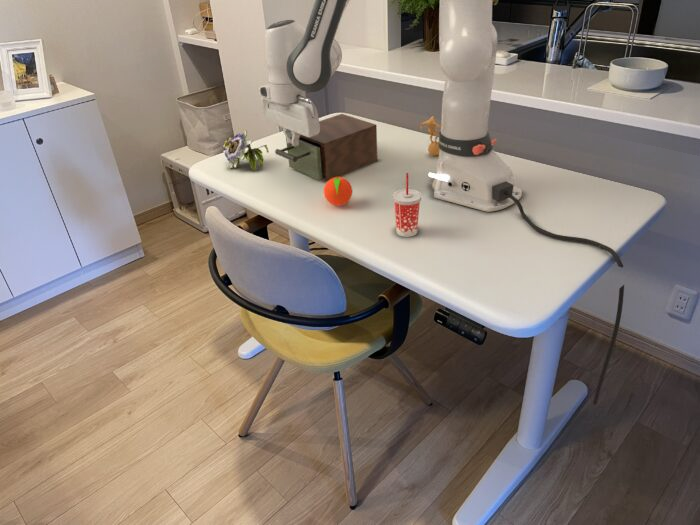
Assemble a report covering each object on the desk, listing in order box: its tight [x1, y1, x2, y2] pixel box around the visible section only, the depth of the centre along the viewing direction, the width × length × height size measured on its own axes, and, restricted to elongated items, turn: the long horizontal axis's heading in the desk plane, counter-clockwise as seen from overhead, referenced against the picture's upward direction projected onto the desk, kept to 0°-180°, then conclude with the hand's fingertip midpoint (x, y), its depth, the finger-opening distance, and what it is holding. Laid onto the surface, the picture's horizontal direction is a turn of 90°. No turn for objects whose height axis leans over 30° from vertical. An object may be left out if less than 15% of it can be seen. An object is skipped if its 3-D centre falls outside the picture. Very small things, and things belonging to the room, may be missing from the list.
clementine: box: [323, 176, 353, 207], centre depth 132 cm, size 8×7×7 cm
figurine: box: [419, 115, 441, 157], centre depth 153 cm, size 8×6×12 cm
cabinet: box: [300, 113, 378, 182], centre depth 153 cm, size 19×15×11 cm
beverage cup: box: [392, 172, 422, 238], centre depth 118 cm, size 6×6×14 cm
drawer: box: [274, 137, 325, 181], centre depth 150 cm, size 23×13×9 cm, turn 131°
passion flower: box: [222, 129, 269, 172], centre depth 156 cm, size 11×11×12 cm
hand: (293, 144), depth 143 cm, fingers closed
